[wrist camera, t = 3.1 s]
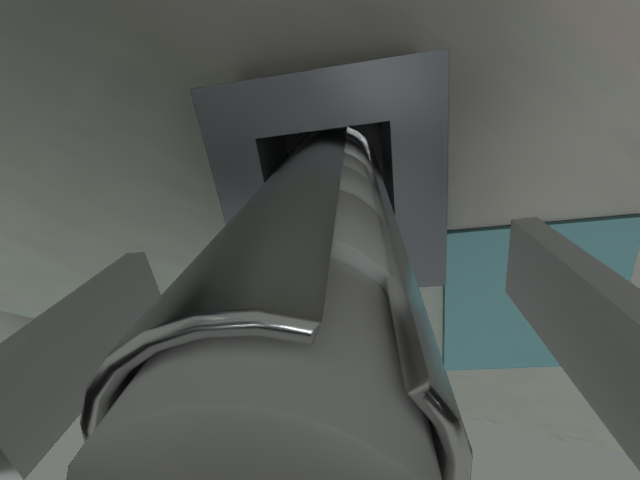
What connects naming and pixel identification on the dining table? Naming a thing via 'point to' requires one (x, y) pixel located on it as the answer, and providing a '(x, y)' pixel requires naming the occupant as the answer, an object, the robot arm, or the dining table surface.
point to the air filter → (284, 347)
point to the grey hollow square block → (334, 112)
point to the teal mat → (496, 306)
